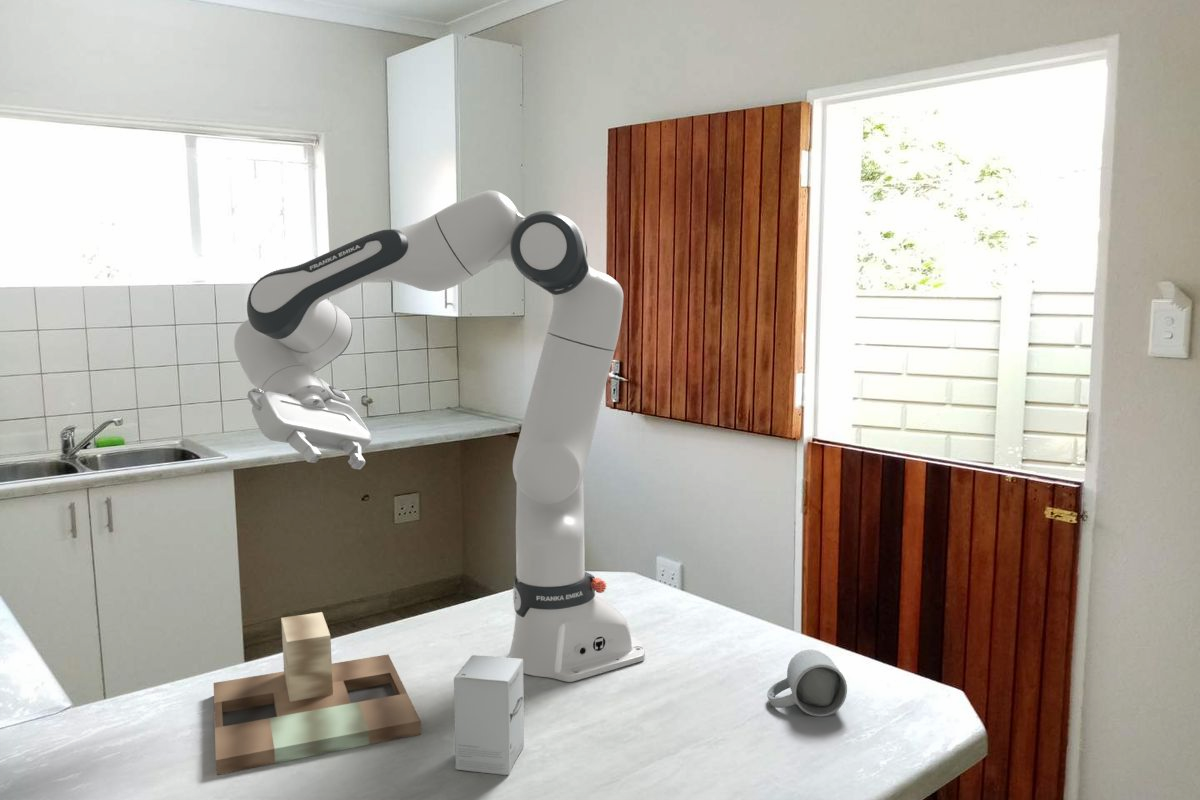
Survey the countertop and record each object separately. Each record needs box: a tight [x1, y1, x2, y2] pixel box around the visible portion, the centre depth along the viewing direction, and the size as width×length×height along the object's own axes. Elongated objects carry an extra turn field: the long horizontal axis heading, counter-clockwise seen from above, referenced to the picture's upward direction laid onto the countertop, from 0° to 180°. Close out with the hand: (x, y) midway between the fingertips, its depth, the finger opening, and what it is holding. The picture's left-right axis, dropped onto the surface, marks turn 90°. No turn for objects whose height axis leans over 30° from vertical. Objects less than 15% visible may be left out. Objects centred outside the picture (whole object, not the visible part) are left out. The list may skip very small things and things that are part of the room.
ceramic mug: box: [766, 649, 848, 717], centre depth 135 cm, size 11×8×8 cm
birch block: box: [280, 611, 333, 702], centre depth 137 cm, size 6×10×9 cm, turn 23°
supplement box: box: [453, 654, 525, 776], centre depth 120 cm, size 7×7×13 cm
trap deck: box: [213, 654, 422, 776], centre depth 133 cm, size 26×24×2 cm
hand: (338, 462), depth 137 cm, fingers open, 8 cm apart
